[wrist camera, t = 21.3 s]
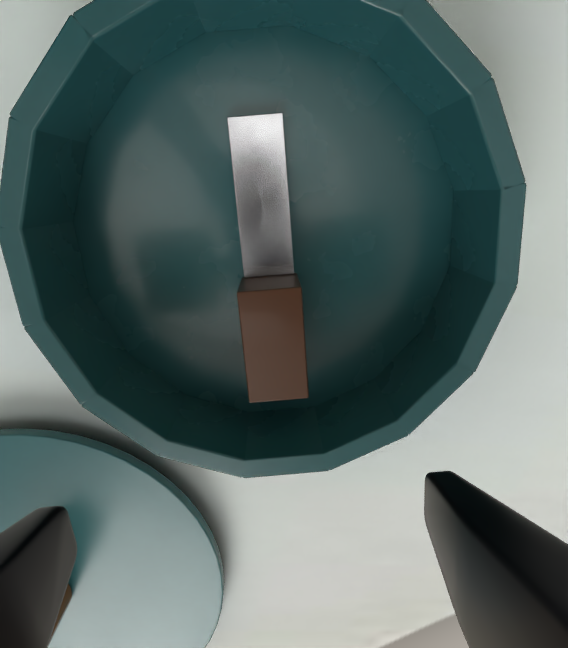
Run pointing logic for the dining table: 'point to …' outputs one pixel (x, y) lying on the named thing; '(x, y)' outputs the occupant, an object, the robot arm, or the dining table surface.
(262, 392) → the knife
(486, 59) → the dining table surface
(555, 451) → the dining table surface
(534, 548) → the robot arm
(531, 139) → the dining table surface
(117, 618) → the lid
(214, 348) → the pot
